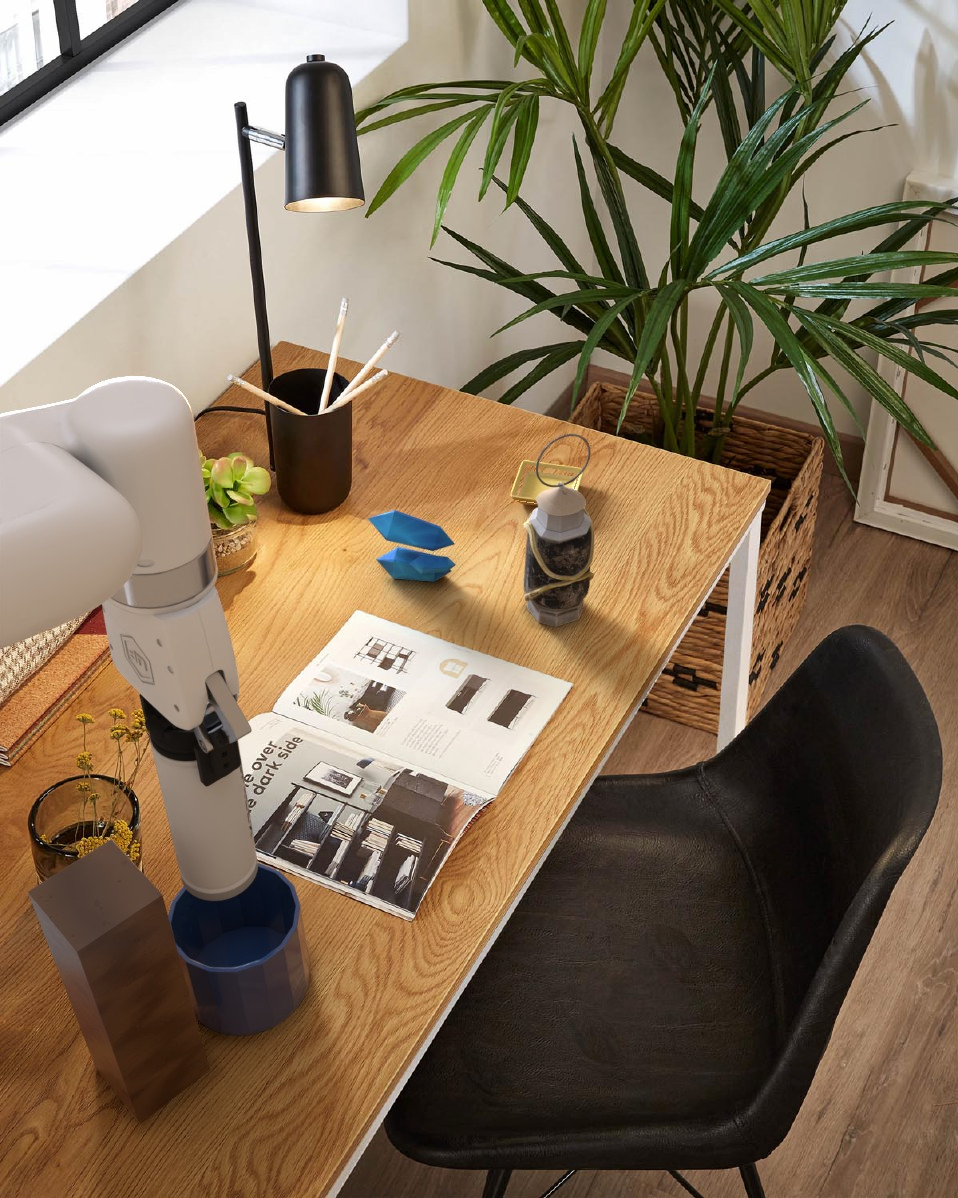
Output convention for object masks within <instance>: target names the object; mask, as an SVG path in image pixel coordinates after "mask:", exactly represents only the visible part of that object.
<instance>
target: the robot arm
mask: <svg viewBox="0 0 958 1198" xmlns="http://www.w3.org/2000/svg"><path fill="white" fill-rule="evenodd" d="M202 468H203V467H202V461H201V455H200V450H199V444H198V437H197V430H196V423H195V419H194V415H193V410H192V407H191V405H190V403H189V401H188V399H187V397H186V396H185V395H184V394H183V393H182V392H181V390H179V389H178V388H177V387H175V386H174V385H172V384H170V383H169V382H166V381H164V380H161V379H156V378H154V377H148V376H134V375H133V376H121V377H115V378H111V379H107V380H105V381H104V380H103V381H101V382H99V383H96V384H95V385H92V386H91V387H88V388H87V389H85V390H84V391H82V392H81V393H80V394H79V395H78V396H77V397H75V398H73V399H68V400H64V401H59V402H56V403H50V404H46V405H41V406H36V407H30V408H26V409H19V410H14V411H8V412H3V413H0V650H2V649H4V648H7V647H11V646H14V645H15V644H19V643H21V642H23V641H25V640H27V639H30V638H33V637H35V636H37V635H40V634H44V633H46V632H48V631H51V630H53V629H55V628H59V627H60V626H63V625H65V624H67V623H70V622H72V621H74V620H76V619H78V618H80V617H82V616H84V615H85V614H88V613H89V612H91V611H93V610H95V609H96V608H98V607H100V606H101V605H102V606H101V607H102V614H103V619H104V626H105V631H106V637H107V641H108V646H109V651H110V656H111V660H112V663H113V665H114V667H115V669H116V670H117V672H118V673H119V674H120V675H121V677H123V678H124V679H125V680H126V681H127V683H129V684H130V686H132V687H133V689H135V690H136V691H137V692H138V694H139V700H140V704H141V709H142V714H143V718H144V722H145V721H146V717H145V713H144V705H145V702H146V700H147V701H148V702H149V703H150V704H152V705H153V706H154V707H155V708H156V709H157V710H158V711H159V712H160V713H161V714H162V715H163V716H164V717H166V718H167V719H168V720H169V721H170V722H171V723H172V724H174V725H175V726H177V727H179V728H181V729H184V730H191V729H193V731H194V734H195V736H196V738H197V741H198V743H197V744H196V745H195V746H194V751H195V756H196V761H197V766H198V771H199V776H200V781H201V783H203V784H204V785H205V786H206V787H207V786H210V785H212V784H213V783H215V782H216V781H218V780H220V779H221V778H223V777H225V776H227V775H229V774H230V773H232V772H233V771H234V770H236V769H237V768H239V767H240V765H241V761H242V758H241V759H240V755H241V752H240V753H239V749H240V746H239V747H238V743H239V741H240V739H242V738H244V737H246V736H247V735H249V734H250V733H252V726H251V725H250V723H249V721H248V720H247V718H246V716H245V714H244V712H243V710H242V709H241V707H240V705H239V703H238V701H239V698H240V678H239V677H240V676H239V671H238V664H237V659H236V654H235V650H234V647H233V641H232V638H231V637H232V636H231V632H230V630H229V626H228V621H227V618H226V615H225V611H224V608H223V605H222V601H221V599H220V594H219V592H218V588H217V587H216V586H215V585H216V583H217V580H218V577H219V570H218V569H219V568H218V563H217V557H216V551H215V544H214V537H213V533H212V532H213V531H212V525H211V524H212V523H211V519H210V512H209V506H208V500H207V493H206V487H205V481H204V475H203V474H204V473H203V469H202ZM208 699H209V700H208ZM215 712H216V713H217V715H218V717H219V718H220V720H221V722H222V724H221V725H220V726H218V727H216V728H215V729H213V730H211V731H209V732H208V731H207V728H206V726H205V724H204V721H203V719H205V718H206V717H208V716H210V715H211V714H213V713H215ZM237 740H238V741H237Z"/></svg>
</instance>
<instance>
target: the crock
mask: <svg viewBox="0 0 958 1198" xmlns="http://www.w3.org/2000/svg"><path fill="white" fill-rule="evenodd" d="M301 906H302V905H301V902H300V898H299V896H298V893H297V890H296V887H295V885H294V884H293V882H291V881H290V880H289V879H288V878H287V877H286V875H284V874H283V873H282V872H281V871H280V870H279V869H277V868H274V867H272V866H270V865H266V864H264V863H262V862H259V861H258V870H257V874H256V877H255V878H254V880H253V882H252V883H251V884H250V885H249V887H248V888H246V889H245V890H244V891H243V892H242V893H240V894H238V895H236V896H234V897H232V898H229V899H225V900H220V901H209V900H204V899H200V898H198V897H196V896H194V895H192V894H191V893H190V892H188V891H187V889H186V888H185V887H184V885H183V886H182V887H181V889H180V890H179V891H178V893H177V894H176V895H175V897H174V898H173V900H172V901H171V904H170V907H169V909H168V913H167V914H168V917H169V921H170V925H171V929H172V932H173V936H174V940H175V943H176V947H177V951H178V954H179V958H180V962H181V965H182V969H183V973H184V976H185V980H186V984H187V987H188V991H189V995H190V998H191V1002H192V1006H193V1010H194V1013H195V1017H196V1020H198V1022H199V1023H200V1024H202V1025H204V1026H205V1027H206V1028H208V1029H209V1030H212V1031H214V1032H216V1033H220V1034H224V1035H227V1036H228V1035H229V1036H238V1037H239V1036H250V1035H255V1034H258V1033H263V1032H265V1031H267V1030H270V1029H272V1028H274V1027H277V1026H278V1025H279V1024H281V1023H282V1022H284V1021H285V1020H287V1018H289V1017H290V1016H291V1015H292V1014H293V1013H294V1012H295V1010H296V1009H297V1008H298V1007H299V1005H300V1004H301V1003H302V1001H303V999H304V998H305V995H306V994H307V990H308V987H309V982H310V969H311V965H310V964H311V963H310V958H309V951H308V945H307V937H306V931H305V924H304V920H303V919H304V918H303V912H302V907H301Z"/></svg>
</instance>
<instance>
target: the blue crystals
mask: <svg viewBox="0 0 958 1198" xmlns="http://www.w3.org/2000/svg"><path fill="white" fill-rule="evenodd" d="M367 520H368V521H369V522H370V523H371V524H372V525H373V527H374V528H375V529H376V530H377V532H378V533H379V534H380V535H381V536H382V537H383V539H384V540H385V541H387V542H391V543H395V544H400V545H404V546H409V547H413V548H417V549H422V550H426V551H431V552H436V551H438V550H441V549H445V548H448V547H451V546H454V545H456V543H455V542H454V541H453V540H452V538H451V537H450V536H449V535H448V534H447V533H446V531H445V530H444V529H443V528H442V526H441V525H438V524H435V523H432V522H429V521H427V520H424V519H420V518H418V517H417V516H413V515H411V514H407V513H405V512H401V511H399V510H396V509H394V510H391V511H387V512H384V513H381V514H378V515H374V516H371V517H368V518H367ZM375 561H376V562H377V563H378V564H379V565H380V566H381V567H382V568H383V569H384V570H385V571H386V572H387V574H388V575H389V576H390V577H391V578H392V579H394V580H408V581H421V582H433V583H434V582H437V581H438V580H440V579H441V578H444V577H445V576H446V575H448V574H450V573H451V572H452V570H451V569H453V568H454V567H455V566H457V565H456V563H455V562H454V561H453V560H451V558H450V557H448V556H445V555H436V554H431V553H427V552H423V551H419V550H414V549H410V548H408V547H407V548H406V547H402V546H397V547H395V548H393V549H391V550H390V551H388V552H386V553H384V554H383V555H380V557H378V558H376V559H375Z"/></svg>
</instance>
